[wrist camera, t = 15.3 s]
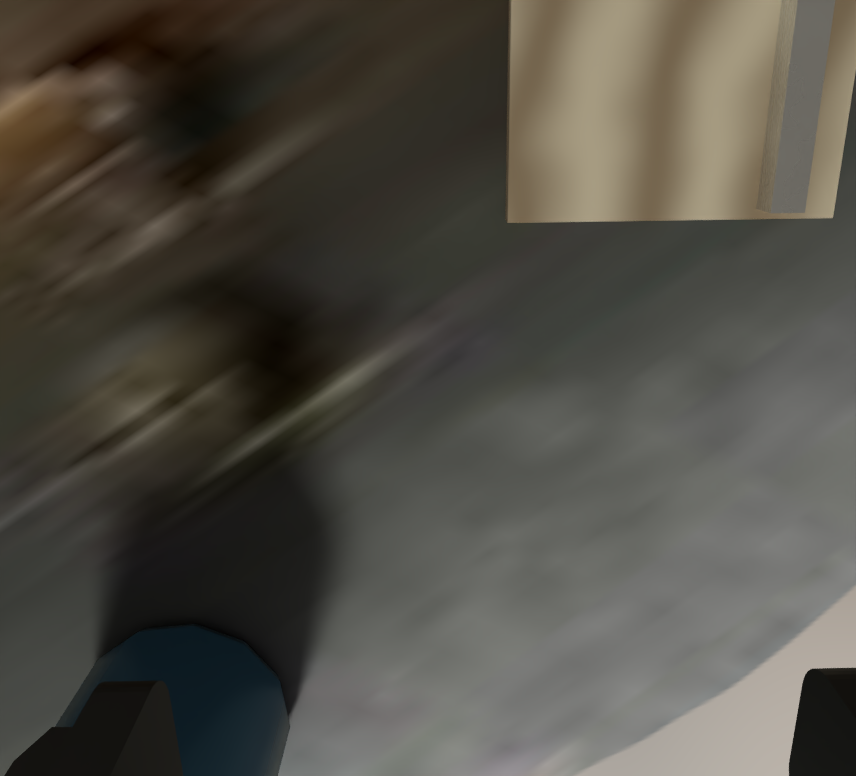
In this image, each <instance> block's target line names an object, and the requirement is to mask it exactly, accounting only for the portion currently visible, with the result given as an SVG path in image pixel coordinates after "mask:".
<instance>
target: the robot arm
mask: <svg viewBox="0 0 856 776" xmlns="http://www.w3.org/2000/svg"><path fill="white" fill-rule="evenodd" d="M5 776H183V771H182V765H181V759H180V753H179V747H178V741H177V736H176V730H175V724H174V718H173V712H172V707H171V701H170V695H169V691H168V688H167V685H166V684H165V682H163V681H114V682H101V683H100V684H98V686H97V687H96V688H95V689H94V691H93V692H92V694H91V695H90V697H89V699H88V701H87V702H86V704H85V706H84V708H83V709H82V711H81V713H80V715H79V716H78V718H77V720H76V722H75V723H74V725H73V727H52V728H51V729H49V730H48V731H47V732H46V733H45V734H44V735H43V736H42V737H40V738H39V739H38V740H37V741H36V742H35V743H34V744H33V745H31V746H30V747H29V748H28V749H27V750H26V751H25V752H24V753H22V754H21V755H20V756H19V757H18V758H17V759H16V760H15V761H14V762H13V763H12V765H11V766H10V768H9V769H8V771H7V773H6V774H5ZM789 776H856V668H827V669H826V668H825V669H824V668H823V669H811V670H809V671H808V672H807V674H806V675H805V677H804V680H803V684H802V691H801V696H800V702H799V708H798V714H797V720H796V726H795V732H794V738H793V744H792V749H791V755H790V762H789Z"/></svg>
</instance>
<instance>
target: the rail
mask: <svg viewBox="0 0 856 776" xmlns="http://www.w3.org/2000/svg"><path fill="white" fill-rule="evenodd" d="M834 6H835V0H782V1H781V9H780V17H779V25H778V33H777V42H776V50H775V58H774V66H773V75H772V83H771V91H770V99H769V108H768V116H767V124H766V132H765V141H764V149H763V157H762V165H761V173H760V182H759V190H758V198H757V206H756V209H758V210H761V211H765V212H768V213H805V209H806V202H807V195H808V188H809V181H810V174H811V167H812V160H813V153H814V146H815V139H816V132H817V125H818V118H819V111H820V104H821V97H822V90H823V83H824V76H825V69H826V62H827V55H828V48H829V41H830V34H831V27H832V20H833V13H834Z"/></svg>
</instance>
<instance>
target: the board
mask: <svg viewBox="0 0 856 776" xmlns="http://www.w3.org/2000/svg"><path fill="white" fill-rule="evenodd" d="M781 1H782V0H509V24H508V89H507V154H506V221H507V223H530V222H597V221H664V220H731V219H798V218H833V214H834V207H835V201H836V194H837V188H838V181H839V175H840V169H841V162H842V156H843V149H844V143H845V136H846V130H847V123H848V117H849V110H850V104H851V97H852V91H853V84H854V78H855V71H856V0H835V6H834V13H833V20H832V27H831V34H830V41H829V48H828V55H827V62H826V69H825V76H824V83H823V90H822V97H821V104H820V111H819V118H818V125H817V132H816V139H815V146H814V153H813V160H812V167H811V174H810V181H809V188H808V195H807V202H806V209H805V213H768V212H765V211H761V210H758V209H756V206H757V198H758V190H759V182H760V173H761V165H762V157H763V149H764V141H765V132H766V124H767V116H768V108H769V99H770V91H771V83H772V75H773V66H774V58H775V50H776V42H777V33H778V25H779V17H780V9H781Z"/></svg>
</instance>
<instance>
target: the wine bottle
mask: <svg viewBox="0 0 856 776" xmlns="http://www.w3.org/2000/svg"><path fill="white" fill-rule="evenodd" d="M114 681H163V682H165V684H166V685H167V688H168V691H169V695H170V701H171V707H172V712H173V718H174V724H175V730H176V736H177V741H178V747H179V753H180V759H181V765H182V771H183V776H278V773H279V769H280V765H281V761H282V757H283V753H284V749H285V745H286V741H287V737H288V733H289V729H290V723H289V719H288V715H287V710H286V706H285V701H284V697H283V692H282V688H281V684H280V680H279V677H278V675H277V674H276V673H275V672H274V671H273V670H272V669H271V668H270V667H269V666H268V665H267V664H266V663H265V662H264V661H263V660H262V659H261V658H260V657H259V656H258V655H257V654H256V653H255V651H254V650H253V649H252V648H251V647H250V646H249V645H248V644H247V643H246V642H245V641H242V640H239V639H237V638H234V637H231V636H228V635H226V634H223V633H220V632H217V631H214V630H212V629H209V628H206V627H203V626H200V625H198V624H188V625H177V626H165V627H154V628H145V629H143V630H141V631H139V632H137V633H136V634H134V635H133V636H131V637H130V638H128V639H127V640H126V641H124V642H123V643H121V644H120V645H118V646H117V647H115V648H114V649H112V650H111V651H109V652H108V653H107V654H105V655H104V656H102V657H101V658H99V659H98V660H97V662H96V663H95V665H94V666H93V668H92V669H91V671H90V673H89V674H88V676H87V677H86V679H85V680H84V682H83V684H82V685H81V687H80V688H79V690H78V691H77V693H76V695H75V696H74V698H73V699H72V701H71V702H70V704H69V706H68V707H67V709H66V710H65V712H64V713H63V715H62V717H61V718H60V720H59V721H58V723H57V724H56V726H55V727H73V725H74V723H75V722H76V720H77V718H78V716H79V715H80V713H81V711H82V709H83V708H84V706H85V704H86V702H87V701H88V699H89V697H90V695H91V694H92V692H93V691H94V689H95V688H96V687H97V686H98V684H100V683H101V682H114Z"/></svg>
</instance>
